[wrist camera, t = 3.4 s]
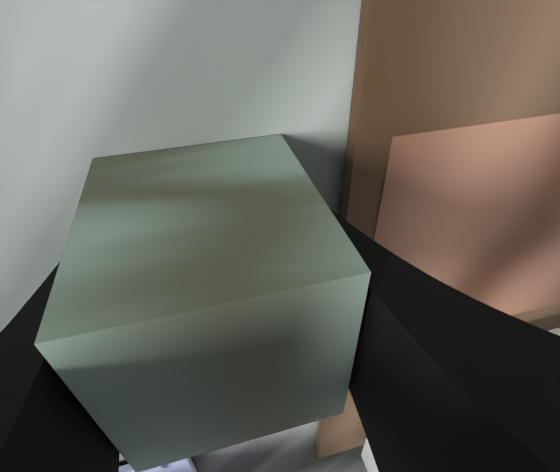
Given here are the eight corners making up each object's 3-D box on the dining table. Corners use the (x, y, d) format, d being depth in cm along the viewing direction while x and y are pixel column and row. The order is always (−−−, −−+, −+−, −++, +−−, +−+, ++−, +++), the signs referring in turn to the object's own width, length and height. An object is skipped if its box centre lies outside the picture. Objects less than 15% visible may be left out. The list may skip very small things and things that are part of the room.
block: (144, 290, 11) (136, 472, 7) (92, 158, 8) (33, 344, 4) (283, 262, 12) (343, 413, 8) (281, 134, 9) (371, 272, 5)
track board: (315, 451, 23) (318, 460, 22) (363, -20, 7) (376, -19, 7) (502, 394, 25) (507, 401, 25) (833, -44, 10) (864, -44, 9)
